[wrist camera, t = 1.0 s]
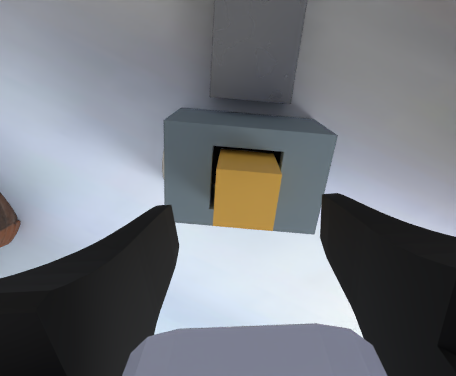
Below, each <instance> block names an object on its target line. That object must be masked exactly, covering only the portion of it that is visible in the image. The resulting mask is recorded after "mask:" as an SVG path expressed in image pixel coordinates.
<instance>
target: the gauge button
mask: <svg viewBox="0 0 456 376" xmlns="http://www.w3.org/2000/svg"><path fill="white" fill-rule="evenodd" d="M281 179H282V173H281V170H280V168H279V166H278V163H277V161H276V158H275V156H274V153H267V152H255V151H244V150H232V149H221V150H220V155H219V159H218V164H217V169H216V183H215V198H214V213H213V226H221V227H233V228H245V229H256V230H268V231H273V227H274V221H275V215H276V209H277V203H278V197H279V191H280V185H281Z"/></svg>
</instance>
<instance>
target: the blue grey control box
mask: <svg viewBox="0 0 456 376" xmlns="http://www.w3.org/2000/svg"><path fill="white" fill-rule="evenodd" d="M337 136H338V135H336V134H335V133H333V132H332V131H330V130H329V129H327V128H326V127H325V126H323V125H322V124H320V123H319V122H317V121H316V120H314V119H306V118H295V117H283V116H272V115H260V114H248V113H237V112H225V111H214V110H202V109H191V108H180V109H179V110H178V111H176V112H175V113H173V114H172V115H171V116H169V117H168V118H166V119H165V120H164V151H163V162H162V169H163V178H164V196H165V205H172V210H173V215H174V221H175V222H176V223H187V224H199V225H211V226H213V213H214V198H215V184H211V182H212V165H213V149H214V146H224V147H236V148H247V149H259V150H270V151H281V157H280V163H279V168H280V170H281V173H282V179H281V185H280V191H279V197H278V203H277V209H276V215H275V221H274V227H273V231H281V232H292V233H304V234H315V230H316V225H317V221H318V217H319V213H320V208H321V204H322V194H324V191H325V187H326V183H327V179H328V174H329V170H330V166H331V162H332V157H333V153H334V149H335V145H336V140H337Z"/></svg>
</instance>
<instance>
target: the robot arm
mask: <svg viewBox="0 0 456 376" xmlns="http://www.w3.org/2000/svg"><path fill="white" fill-rule="evenodd" d="M320 239H321V242H322V245H323V248H324V251H325V254H326V257H327V259H328V261H329V263H330V265H331V267H332V269H333V271H334V273H335V275H336V277H337V279H338V281H339V283H340V285H341V287H342V289H343V291H344V293H345V295H346V297H347V299H348V301H349V303H350V305H351V307H352V309H353V312H354V314H355V316H356V319H357V321H358V324H359V327H360V329H361V332H362V335H363V337H364V339H363V338H362V337H361V336H359V335H358V334H357V333H355V332H354V331H352V330H351V329H347V328H342V327H336V326H329V325H323V324H316V323H315V324H289V325H263V326H238V327H212V328H186V329H176V330H172V331H168V332H164V333H160V334H156V335H154V332H155V328H156V323H157V320H158V316H159V313H160V310H161V307H162V304H163V301H164V298H165V296H166V293H167V290H168V287H169V284H170V281H171V278H172V275H173V272H174V269H175V266H176V261H177V256H178V250H179V242H178V236H177V231H176V226H175V221H174V215H173V210H172V205H159V206H155V207H153V208H152V209H150V210H148V211H147V212H145V213H144V214H142V215H141V216H139V217H137V218H136V219H134V220H133V221H131V222H130V223H128V224H127V225H125V226H124V227H122V228H120V229H119V230H117V231H115V232H114V233H112V234H110V235H109V236H107V237H105V238H104V239H102V240H100V241H98V242H96V243H94V244H92V245H90V246H88V247H86V248H84V249H82V250H80V251H78V252H75V253H73V254H70V255H68V256H65V257H63V258H61V259H58V260H56V261H53V262H51V263H48V264H45V265H42V266H39V267H37V268H34V269H31V270H27V271H24V272H21V273H18V274H15V275H11V276H8V277H4V278H0V376H456V237H454V236H450V235H446V234H442V233H438V232H435V231H431V230H428V229H425V228H422V227H418V226H415V225H412V224H409V223H407V222H404V221H401V220H399V219H396V218H394V217H391V216H388V215H386V214H384V213H381V212H379V211H377V210H375V209H372V208H370V207H368V206H366V205H364V204H362V203H359V202H357V201H355V200H353V199H351V198H349V197H346V196H344V195H341V194H338V193H334V194H322V206H321V229H320Z"/></svg>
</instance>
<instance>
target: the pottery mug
mask: <svg viewBox="0 0 456 376" xmlns="http://www.w3.org/2000/svg"><path fill="white" fill-rule="evenodd" d="M19 226H20V221H19V220H17V215H16V214H15V212H14V210H13V208H12V207H11V206H10V204H9V203H8V202H7V200H6V199H5V198H4V196H3V195H2V194H1V193H0V247H3V246H5V245H7V244H9V243H10V242H11V241H12V240H13V238H14V237H15V235H16V233H17V231H18V229H19Z"/></svg>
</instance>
